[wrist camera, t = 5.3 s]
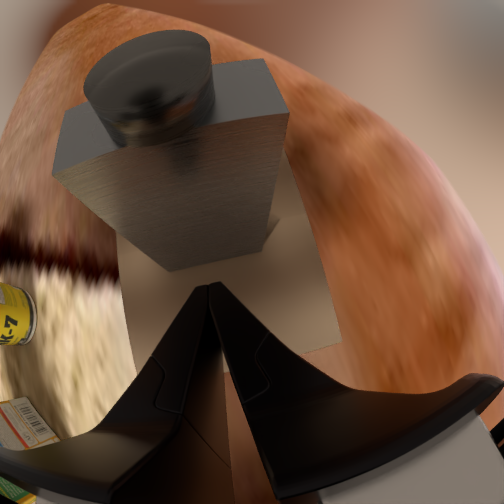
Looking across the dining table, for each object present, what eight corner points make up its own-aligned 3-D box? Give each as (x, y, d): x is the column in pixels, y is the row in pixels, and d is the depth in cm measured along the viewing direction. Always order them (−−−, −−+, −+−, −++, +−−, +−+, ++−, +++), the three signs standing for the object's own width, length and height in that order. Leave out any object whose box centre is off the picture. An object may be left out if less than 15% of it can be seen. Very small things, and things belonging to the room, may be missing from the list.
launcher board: (326, 339, 16) (342, 341, 13) (156, 376, 15) (139, 385, 13) (271, 150, 20) (274, 124, 17) (129, 182, 19) (114, 161, 16)
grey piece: (263, 255, 14) (303, 72, 4) (169, 275, 14) (18, 153, 3) (252, 213, 15) (263, 15, 4) (163, 233, 15) (46, 75, 4)
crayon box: (17, 413, 13) (-77, 430, 2) (26, 395, 14) (-78, 408, 3) (71, 477, 12) (-11, 529, 1) (84, 462, 13) (-8, 520, 2)
